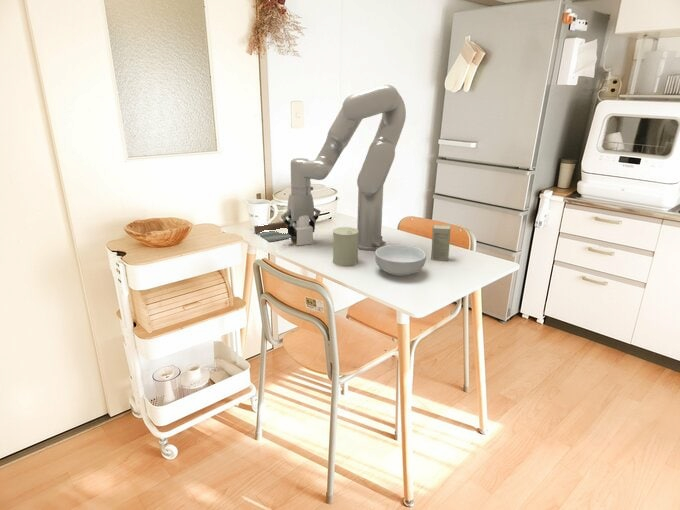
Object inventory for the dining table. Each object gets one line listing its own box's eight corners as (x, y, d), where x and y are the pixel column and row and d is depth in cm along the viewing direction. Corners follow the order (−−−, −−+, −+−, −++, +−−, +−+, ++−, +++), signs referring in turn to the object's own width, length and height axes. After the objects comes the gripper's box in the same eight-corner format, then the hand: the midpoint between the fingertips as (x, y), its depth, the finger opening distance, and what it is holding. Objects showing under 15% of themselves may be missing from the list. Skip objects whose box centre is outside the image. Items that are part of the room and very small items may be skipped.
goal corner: (303, 236, 186) (303, 229, 185) (269, 242, 178) (269, 235, 177) (287, 227, 198) (286, 220, 197) (254, 232, 190) (254, 226, 189)
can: (342, 268, 153) (343, 235, 148) (327, 260, 160) (327, 228, 155) (363, 262, 158) (364, 230, 154) (347, 255, 165) (348, 224, 161)
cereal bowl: (364, 272, 149) (365, 252, 147) (393, 259, 161) (394, 241, 158) (406, 286, 139) (407, 265, 136) (433, 271, 150) (435, 252, 148)
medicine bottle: (290, 241, 180) (289, 212, 176) (307, 239, 183) (306, 210, 179) (296, 246, 174) (295, 217, 170) (313, 244, 177) (313, 215, 172)
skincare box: (448, 257, 163) (451, 225, 159) (448, 261, 159) (451, 229, 155) (431, 255, 165) (433, 224, 161) (430, 259, 161) (432, 227, 157)
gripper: (315, 187, 178) (315, 227, 184) (276, 191, 169) (277, 234, 175) (324, 190, 172) (324, 232, 178) (285, 195, 163) (286, 239, 169)
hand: (301, 233), depth 177 cm, fingers open, 9 cm apart
